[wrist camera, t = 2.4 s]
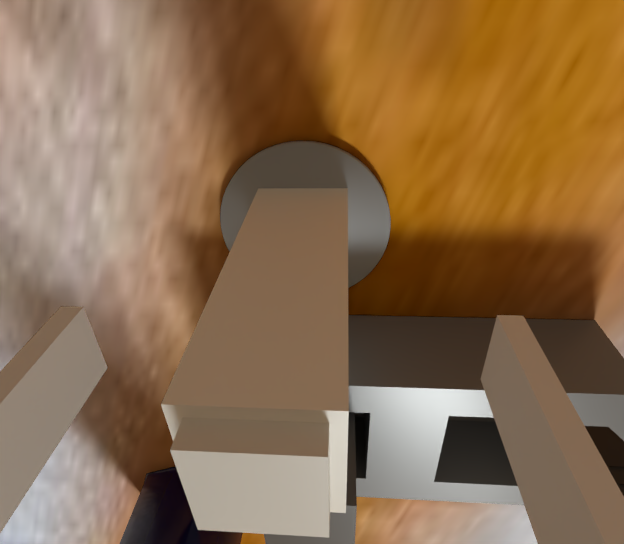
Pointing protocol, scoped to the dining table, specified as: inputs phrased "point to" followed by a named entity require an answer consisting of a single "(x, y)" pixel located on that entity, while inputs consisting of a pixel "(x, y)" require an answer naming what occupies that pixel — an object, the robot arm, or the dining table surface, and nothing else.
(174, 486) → the bottle
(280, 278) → the plug
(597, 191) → the dining table surface
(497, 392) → the robot arm
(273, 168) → the coaster
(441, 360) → the strip
